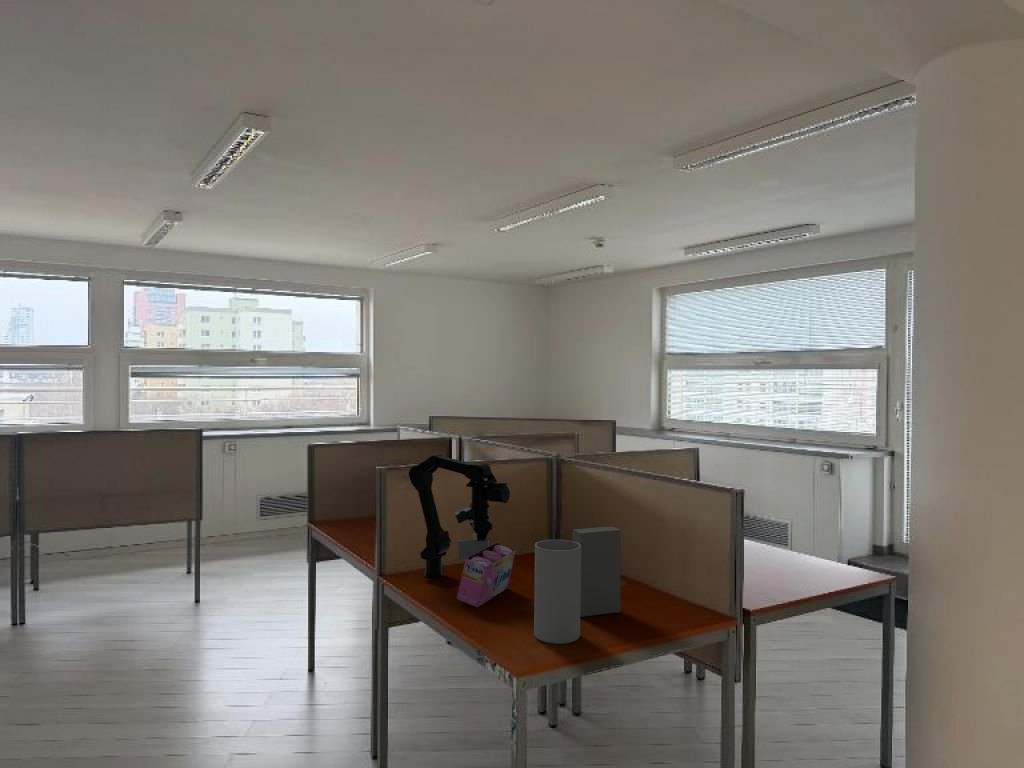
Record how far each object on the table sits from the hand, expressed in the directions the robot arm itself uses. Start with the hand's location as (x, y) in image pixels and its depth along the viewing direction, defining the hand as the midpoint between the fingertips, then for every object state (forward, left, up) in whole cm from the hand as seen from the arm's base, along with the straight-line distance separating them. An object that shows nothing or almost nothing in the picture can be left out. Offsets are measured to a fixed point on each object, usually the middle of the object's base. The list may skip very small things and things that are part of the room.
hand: (479, 545), depth 244 cm
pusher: (+3, -1, -3) cm, 4 cm away
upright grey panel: (+35, +31, -13) cm, 49 cm away
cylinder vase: (+53, +15, -13) cm, 57 cm away
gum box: (+15, -1, -12) cm, 19 cm away
